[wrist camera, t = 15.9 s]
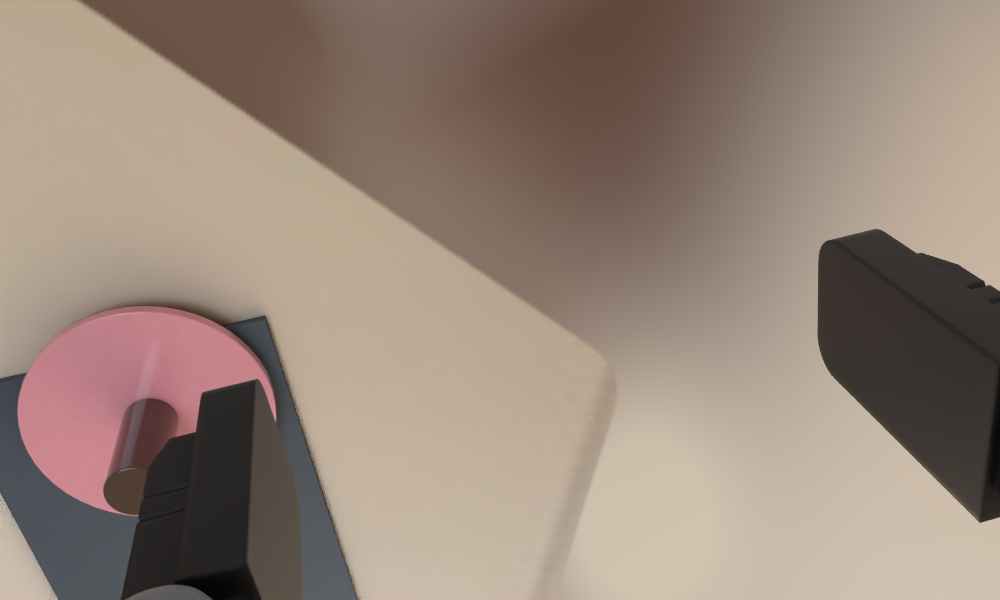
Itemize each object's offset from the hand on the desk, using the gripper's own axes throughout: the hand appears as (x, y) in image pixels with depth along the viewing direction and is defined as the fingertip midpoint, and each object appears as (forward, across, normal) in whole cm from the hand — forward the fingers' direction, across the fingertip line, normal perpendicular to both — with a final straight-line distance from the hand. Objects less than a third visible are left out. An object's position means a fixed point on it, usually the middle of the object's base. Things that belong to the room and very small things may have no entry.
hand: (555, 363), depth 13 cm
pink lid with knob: (+27, +14, +15) cm, 34 cm away
